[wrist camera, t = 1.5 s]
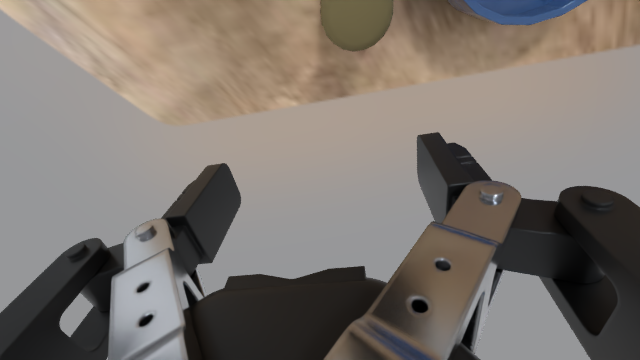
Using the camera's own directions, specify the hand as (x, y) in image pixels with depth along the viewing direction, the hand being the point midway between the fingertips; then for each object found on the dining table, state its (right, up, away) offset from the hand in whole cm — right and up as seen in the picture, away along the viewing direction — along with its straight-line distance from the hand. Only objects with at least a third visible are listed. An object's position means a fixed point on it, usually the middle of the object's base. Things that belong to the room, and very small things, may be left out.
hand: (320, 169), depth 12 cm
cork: (+3, +17, +16) cm, 24 cm away
